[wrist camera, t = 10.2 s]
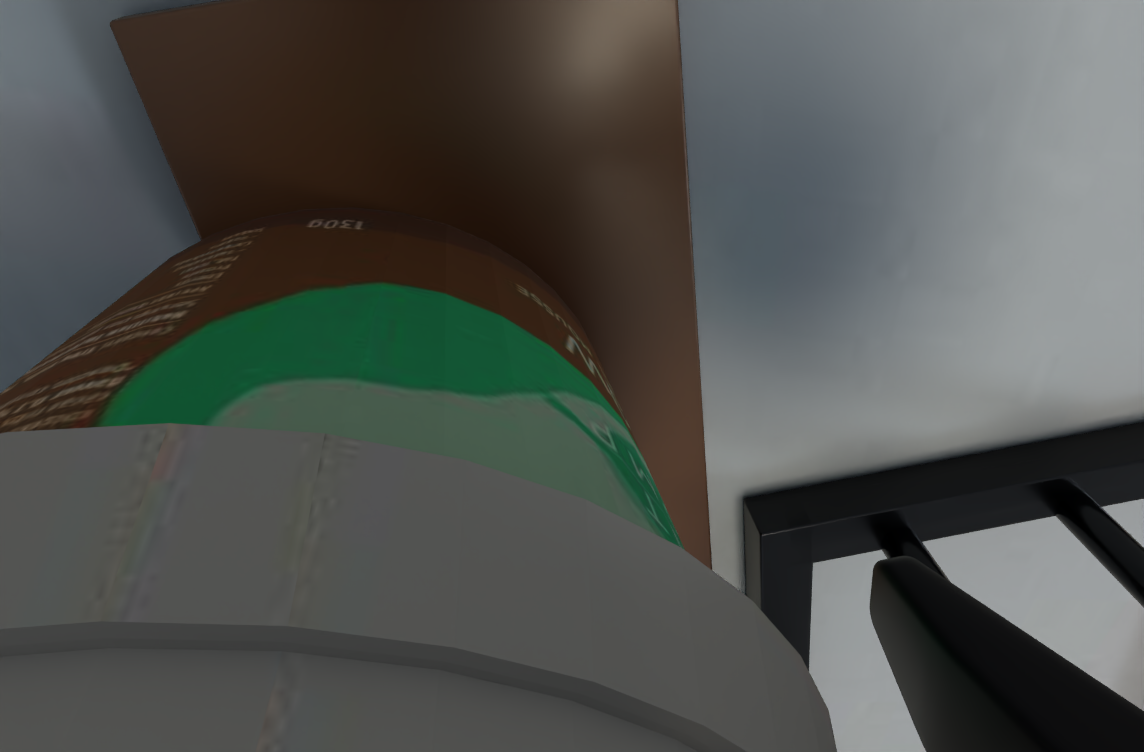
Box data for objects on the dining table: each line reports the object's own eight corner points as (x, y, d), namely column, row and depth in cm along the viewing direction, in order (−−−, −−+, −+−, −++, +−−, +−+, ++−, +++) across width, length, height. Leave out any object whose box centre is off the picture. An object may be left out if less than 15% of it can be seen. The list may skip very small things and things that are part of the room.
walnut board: (382, 648, 19) (380, 665, 18) (119, 17, 11) (106, 21, 11) (709, 585, 19) (714, 600, 18) (666, -76, 11) (674, -74, 11)
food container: (765, 501, 17) (1067, 1103, 9) (525, 622, 18) (584, 1263, 10) (429, -55, 11) (319, 140, 2) (94, 181, 12) (-816, 904, 3)
